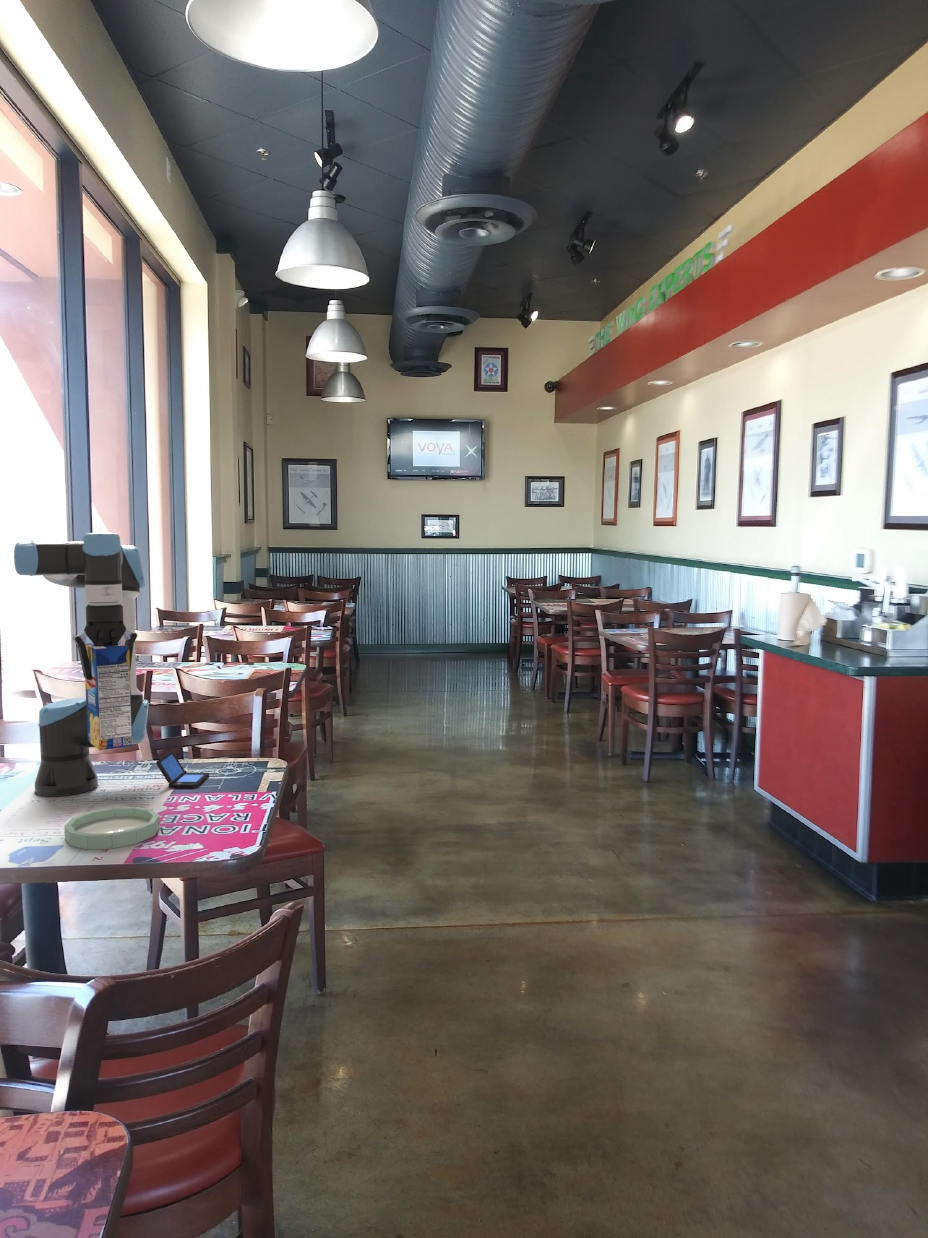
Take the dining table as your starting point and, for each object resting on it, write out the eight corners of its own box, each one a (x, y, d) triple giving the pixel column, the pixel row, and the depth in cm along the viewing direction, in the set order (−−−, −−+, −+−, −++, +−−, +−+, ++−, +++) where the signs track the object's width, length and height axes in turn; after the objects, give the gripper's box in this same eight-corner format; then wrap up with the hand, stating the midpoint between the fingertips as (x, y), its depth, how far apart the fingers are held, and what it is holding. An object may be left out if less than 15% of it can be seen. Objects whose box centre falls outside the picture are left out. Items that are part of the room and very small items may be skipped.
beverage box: (99, 750, 182) (95, 649, 180) (87, 740, 191) (83, 643, 189) (132, 746, 186) (129, 646, 184) (119, 736, 195) (115, 641, 193)
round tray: (58, 830, 193) (57, 817, 192) (144, 814, 204) (143, 802, 204) (77, 855, 177) (76, 841, 177) (169, 836, 189) (168, 823, 188)
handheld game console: (196, 789, 225) (196, 762, 224) (155, 789, 224) (154, 762, 224) (210, 776, 237) (209, 750, 236) (171, 776, 237) (171, 750, 236)
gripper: (71, 606, 178) (76, 716, 181) (144, 603, 187) (147, 708, 189) (63, 604, 184) (68, 710, 187) (134, 600, 193) (138, 703, 195)
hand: (108, 709), depth 188 cm, fingers closed on beverage box, 2 cm apart
